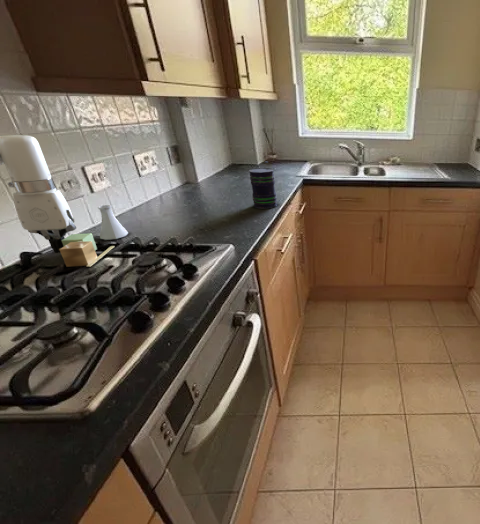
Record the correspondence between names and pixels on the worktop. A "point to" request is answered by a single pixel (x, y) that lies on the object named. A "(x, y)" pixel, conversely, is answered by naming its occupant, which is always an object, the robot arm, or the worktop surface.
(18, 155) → the robot arm
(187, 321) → the worktop surface
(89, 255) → the beech block
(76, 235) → the sage block
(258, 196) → the storage jar
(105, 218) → the flask
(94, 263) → the tape strip
